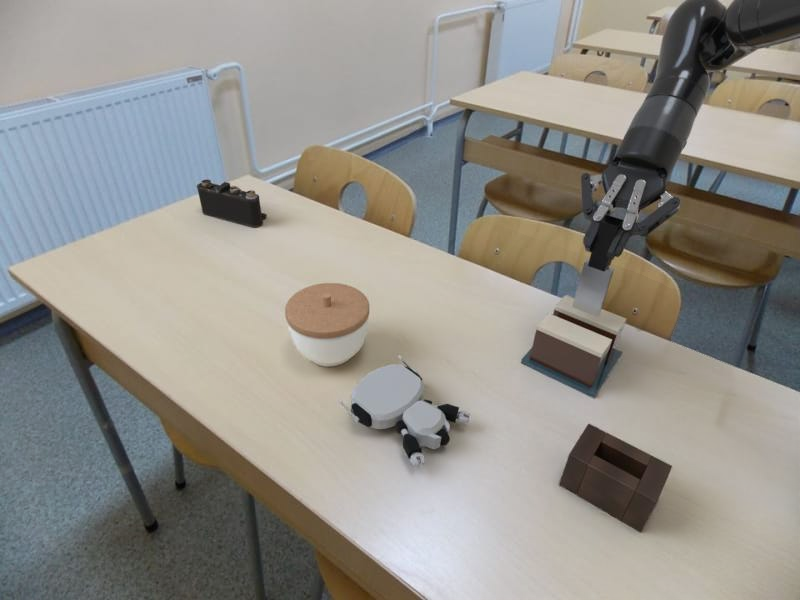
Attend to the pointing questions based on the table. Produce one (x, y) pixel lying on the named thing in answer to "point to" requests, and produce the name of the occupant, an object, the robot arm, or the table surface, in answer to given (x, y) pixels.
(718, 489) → the table surface
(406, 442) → the robot toy
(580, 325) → the slotted fixture
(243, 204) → the camera
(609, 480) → the brown rectangular frame
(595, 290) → the dark grey tall bar
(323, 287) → the lidded bowl
